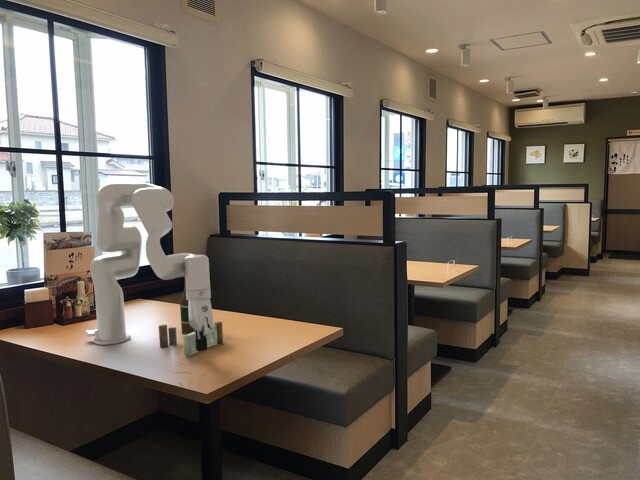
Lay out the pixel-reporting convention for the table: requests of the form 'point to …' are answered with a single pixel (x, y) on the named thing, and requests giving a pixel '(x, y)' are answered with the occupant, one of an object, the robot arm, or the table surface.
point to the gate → (191, 343)
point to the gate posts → (173, 339)
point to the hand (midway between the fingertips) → (201, 350)
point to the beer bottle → (185, 313)
